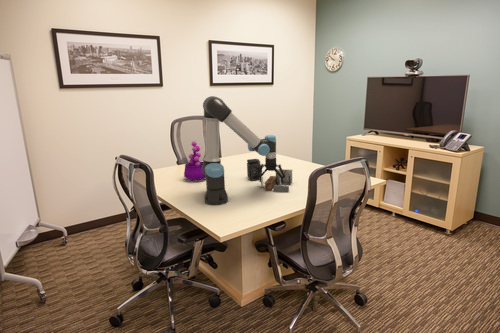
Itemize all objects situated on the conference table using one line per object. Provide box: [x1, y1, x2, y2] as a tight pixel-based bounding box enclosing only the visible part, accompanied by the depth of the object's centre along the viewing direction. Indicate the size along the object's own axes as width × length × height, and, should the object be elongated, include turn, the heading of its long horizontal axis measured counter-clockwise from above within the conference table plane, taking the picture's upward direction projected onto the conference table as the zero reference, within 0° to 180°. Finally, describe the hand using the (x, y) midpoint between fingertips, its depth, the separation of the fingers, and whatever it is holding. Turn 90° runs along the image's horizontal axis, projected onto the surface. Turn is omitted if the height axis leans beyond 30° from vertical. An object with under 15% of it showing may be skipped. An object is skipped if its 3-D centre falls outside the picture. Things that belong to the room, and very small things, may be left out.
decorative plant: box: [183, 141, 206, 182], centre depth 252 cm, size 19×18×30 cm
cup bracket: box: [275, 168, 293, 186], centre depth 238 cm, size 12×6×10 cm, turn 78°
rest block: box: [273, 185, 290, 193], centre depth 224 cm, size 10×4×4 cm, turn 78°
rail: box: [264, 175, 277, 192], centre depth 233 cm, size 4×16×6 cm, turn 162°
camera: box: [246, 158, 263, 181], centre depth 251 cm, size 10×10×15 cm
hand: (271, 186), depth 233 cm, fingers open, 13 cm apart
